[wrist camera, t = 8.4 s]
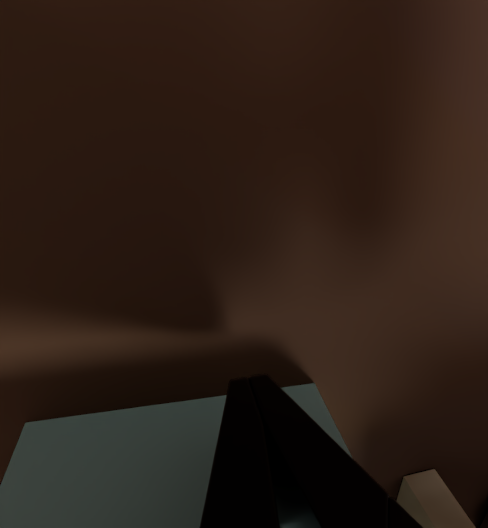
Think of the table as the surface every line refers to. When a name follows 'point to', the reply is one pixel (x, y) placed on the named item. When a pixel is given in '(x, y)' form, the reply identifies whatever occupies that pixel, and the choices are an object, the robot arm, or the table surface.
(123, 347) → the table surface
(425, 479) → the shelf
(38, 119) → the table surface
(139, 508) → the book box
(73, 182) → the table surface
